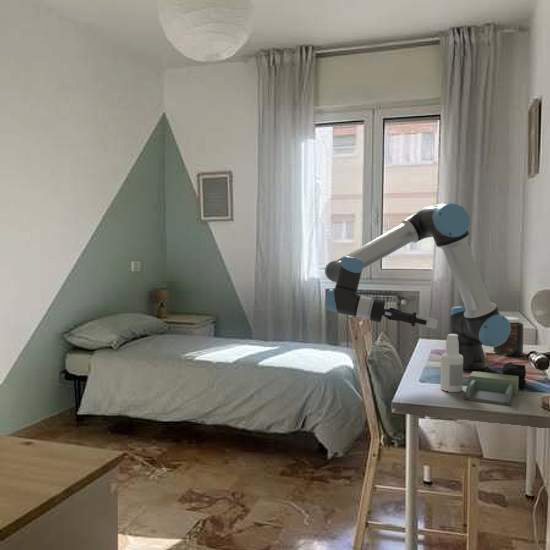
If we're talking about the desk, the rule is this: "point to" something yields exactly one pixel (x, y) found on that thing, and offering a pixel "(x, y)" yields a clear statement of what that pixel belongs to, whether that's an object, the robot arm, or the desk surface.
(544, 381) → the desk surface
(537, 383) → the desk surface
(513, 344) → the jar
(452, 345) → the spray bottle
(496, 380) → the chute bracket
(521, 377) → the end cap
